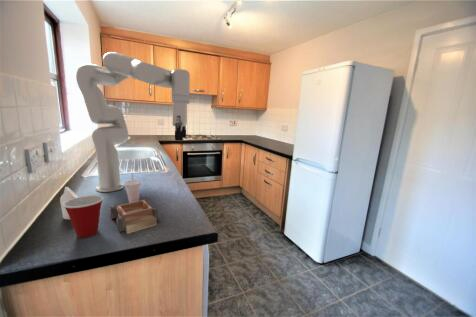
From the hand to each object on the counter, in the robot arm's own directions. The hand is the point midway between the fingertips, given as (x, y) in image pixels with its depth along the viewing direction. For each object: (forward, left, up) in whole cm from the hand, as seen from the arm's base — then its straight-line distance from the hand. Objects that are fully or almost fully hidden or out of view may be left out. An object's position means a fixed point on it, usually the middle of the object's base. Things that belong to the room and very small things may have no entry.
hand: (180, 138), depth 98 cm
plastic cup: (+9, -39, -29) cm, 49 cm away
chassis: (+8, -24, -29) cm, 38 cm away
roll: (-8, -42, -29) cm, 51 cm away
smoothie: (-7, -20, -29) cm, 36 cm away
